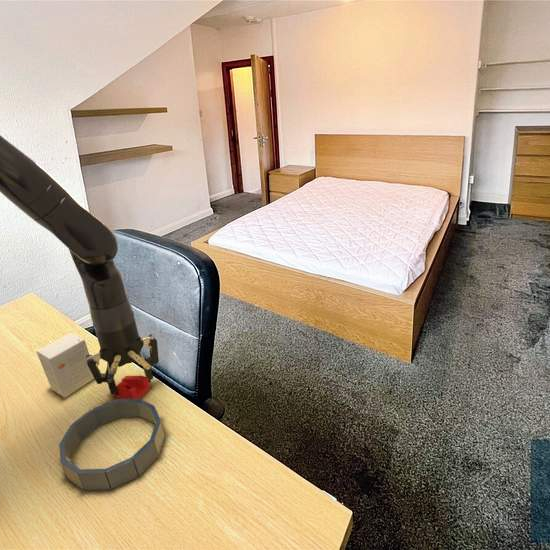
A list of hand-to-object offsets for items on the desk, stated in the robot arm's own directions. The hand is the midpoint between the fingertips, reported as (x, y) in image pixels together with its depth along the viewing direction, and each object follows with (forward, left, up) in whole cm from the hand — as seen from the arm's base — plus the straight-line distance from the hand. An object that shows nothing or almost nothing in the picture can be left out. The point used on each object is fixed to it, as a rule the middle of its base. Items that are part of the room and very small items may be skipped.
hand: (132, 386), depth 87 cm
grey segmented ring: (-6, -14, -1) cm, 15 cm away
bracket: (-1, 0, -1) cm, 1 cm away
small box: (-11, +10, -1) cm, 15 cm away
